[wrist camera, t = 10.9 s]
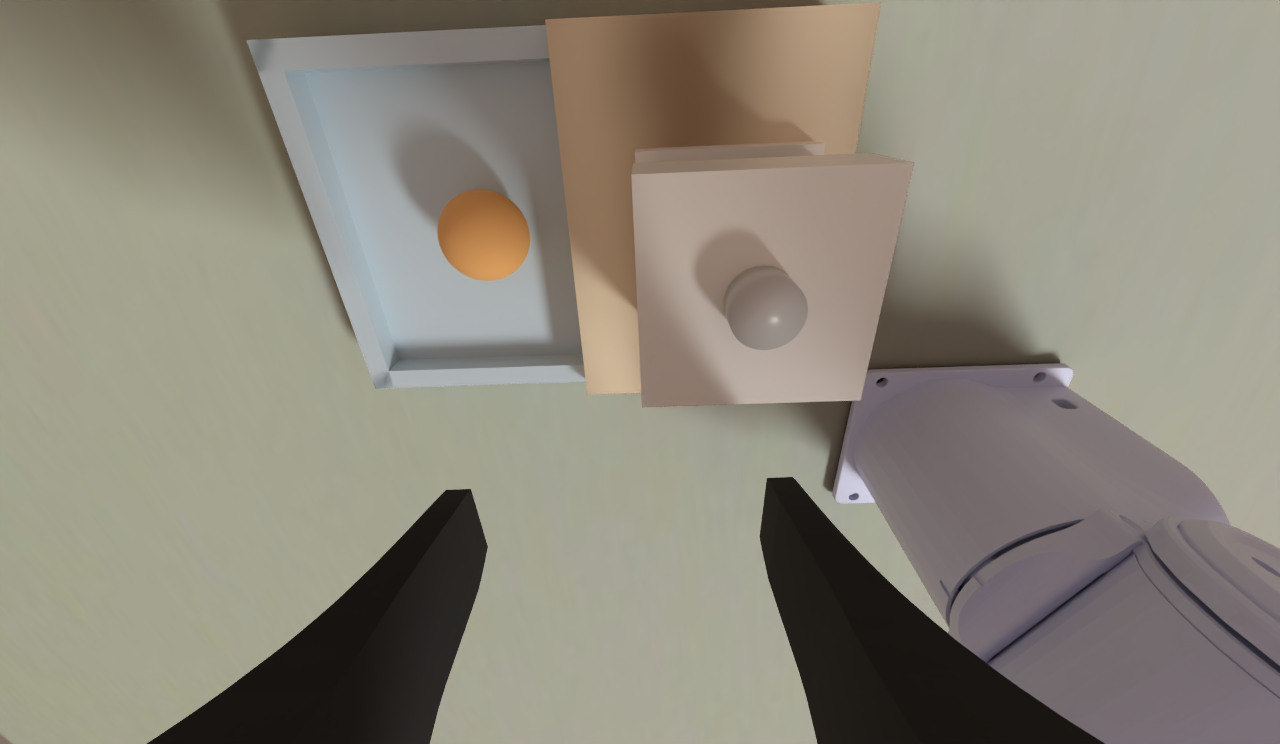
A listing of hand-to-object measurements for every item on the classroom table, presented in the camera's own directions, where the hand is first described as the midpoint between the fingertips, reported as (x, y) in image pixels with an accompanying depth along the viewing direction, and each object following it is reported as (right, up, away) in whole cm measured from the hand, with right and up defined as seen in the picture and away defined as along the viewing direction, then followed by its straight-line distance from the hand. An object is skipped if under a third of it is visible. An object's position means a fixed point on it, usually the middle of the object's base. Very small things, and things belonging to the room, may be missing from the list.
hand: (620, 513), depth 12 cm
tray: (-6, +9, +7) cm, 13 cm away
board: (+3, +9, +7) cm, 12 cm away
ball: (-5, +8, +5) cm, 10 cm away
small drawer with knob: (+3, +8, +4) cm, 9 cm away
